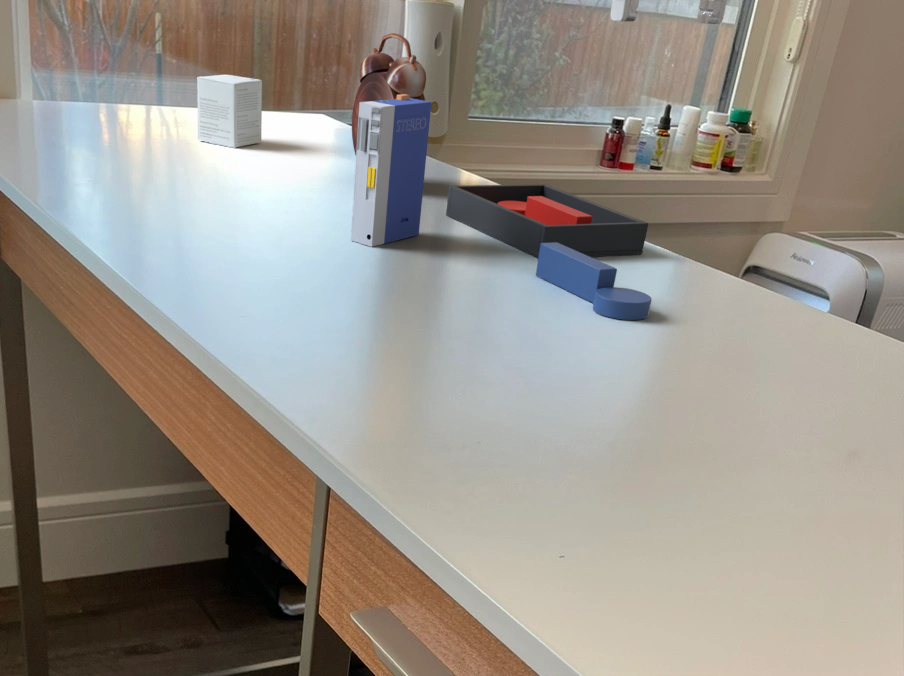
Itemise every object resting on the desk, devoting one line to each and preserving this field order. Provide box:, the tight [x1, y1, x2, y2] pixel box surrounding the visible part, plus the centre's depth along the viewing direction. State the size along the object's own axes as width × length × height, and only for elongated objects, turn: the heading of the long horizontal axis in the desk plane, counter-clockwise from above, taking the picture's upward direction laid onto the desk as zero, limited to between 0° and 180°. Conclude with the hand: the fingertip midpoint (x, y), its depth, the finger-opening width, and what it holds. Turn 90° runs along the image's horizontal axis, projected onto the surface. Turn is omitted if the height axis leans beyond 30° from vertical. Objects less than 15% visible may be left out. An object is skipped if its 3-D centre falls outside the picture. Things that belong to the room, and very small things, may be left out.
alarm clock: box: [351, 33, 427, 156], centre depth 126 cm, size 11×5×15 cm, turn 28°
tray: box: [445, 183, 649, 259], centre depth 114 cm, size 18×12×3 cm
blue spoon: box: [535, 242, 653, 321], centre depth 95 cm, size 14×5×3 cm, turn 26°
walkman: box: [350, 94, 432, 247], centre depth 104 cm, size 8×3×12 cm, turn 143°
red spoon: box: [498, 196, 592, 225], centre depth 113 cm, size 14×5×3 cm, turn 26°
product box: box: [196, 74, 263, 149], centre depth 143 cm, size 6×6×7 cm
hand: (666, 22), depth 97 cm, fingers open, 8 cm apart
